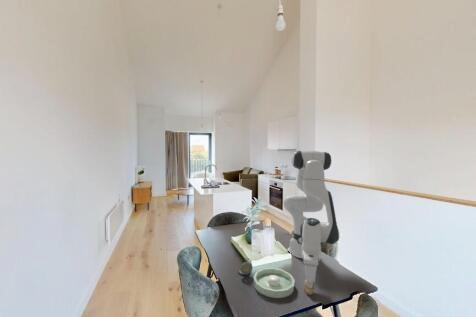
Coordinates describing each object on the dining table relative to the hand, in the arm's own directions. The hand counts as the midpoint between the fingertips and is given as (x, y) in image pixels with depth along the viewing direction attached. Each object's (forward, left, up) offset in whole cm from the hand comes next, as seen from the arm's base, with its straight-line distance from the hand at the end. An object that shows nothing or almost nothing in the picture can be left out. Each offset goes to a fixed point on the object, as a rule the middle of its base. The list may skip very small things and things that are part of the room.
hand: (310, 281), depth 110 cm
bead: (-1, -1, -6) cm, 6 cm away
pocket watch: (-5, -35, -6) cm, 35 cm away
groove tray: (0, -18, -6) cm, 18 cm away
